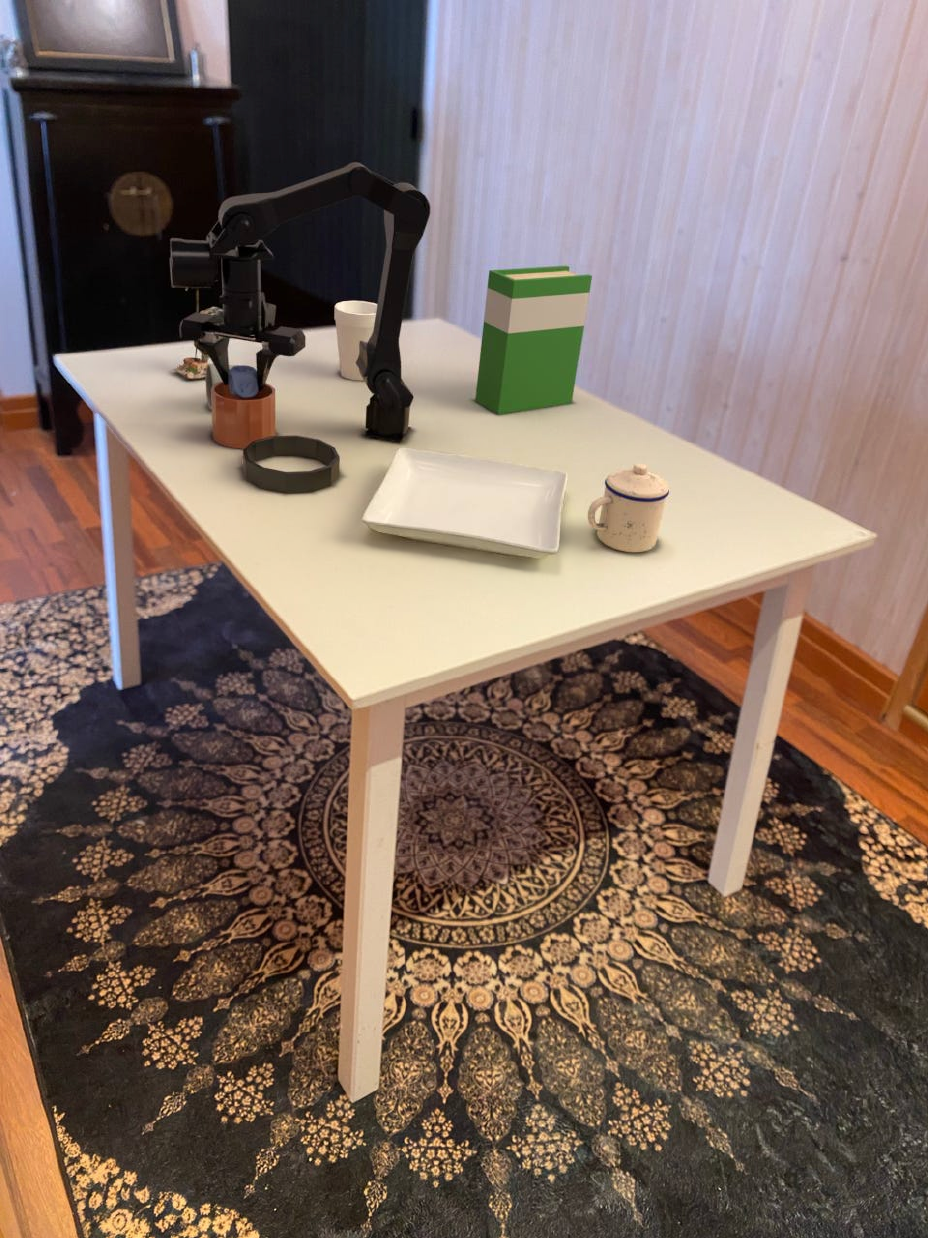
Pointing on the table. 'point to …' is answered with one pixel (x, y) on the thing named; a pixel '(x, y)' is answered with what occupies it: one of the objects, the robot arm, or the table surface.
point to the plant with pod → (197, 365)
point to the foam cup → (353, 333)
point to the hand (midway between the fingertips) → (244, 387)
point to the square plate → (470, 503)
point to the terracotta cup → (242, 416)
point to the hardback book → (531, 338)
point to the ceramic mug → (212, 380)
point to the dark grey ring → (290, 480)
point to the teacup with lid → (630, 509)
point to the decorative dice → (243, 381)
